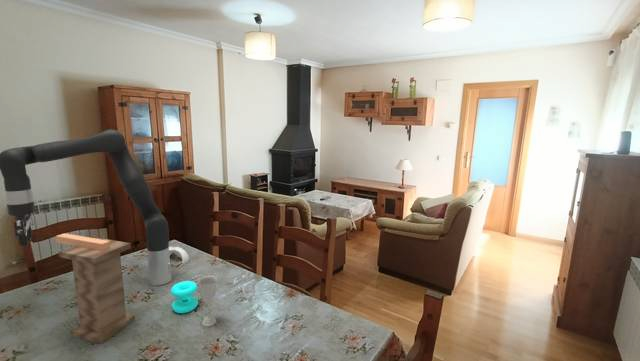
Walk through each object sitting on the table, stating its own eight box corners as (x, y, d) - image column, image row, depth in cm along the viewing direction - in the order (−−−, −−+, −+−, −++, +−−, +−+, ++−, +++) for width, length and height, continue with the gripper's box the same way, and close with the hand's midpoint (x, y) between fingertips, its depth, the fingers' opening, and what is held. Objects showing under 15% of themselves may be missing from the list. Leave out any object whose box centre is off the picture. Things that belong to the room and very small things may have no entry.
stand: (69, 334, 111) (58, 251, 105) (105, 312, 124) (97, 237, 118) (103, 344, 107) (93, 258, 101) (137, 320, 120) (130, 243, 114)
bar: (56, 242, 113) (55, 235, 112) (65, 239, 116) (64, 233, 115) (102, 250, 107) (101, 244, 106) (110, 247, 110) (109, 240, 109)
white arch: (146, 258, 173) (145, 247, 172) (163, 251, 184) (162, 239, 183) (179, 266, 166) (178, 254, 164) (194, 258, 177) (194, 246, 175)
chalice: (222, 319, 122) (221, 277, 119) (211, 329, 116) (209, 285, 113) (207, 314, 125) (205, 273, 121) (195, 325, 118) (193, 282, 115)
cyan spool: (165, 288, 125) (185, 277, 134) (166, 310, 127) (186, 298, 136) (182, 294, 121) (202, 283, 130) (184, 317, 123) (203, 304, 132)
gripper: (29, 204, 113) (35, 246, 115) (37, 196, 124) (42, 234, 127) (0, 207, 108) (8, 250, 111) (11, 198, 120) (17, 237, 123)
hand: (26, 241), depth 119 cm, fingers open, 8 cm apart
